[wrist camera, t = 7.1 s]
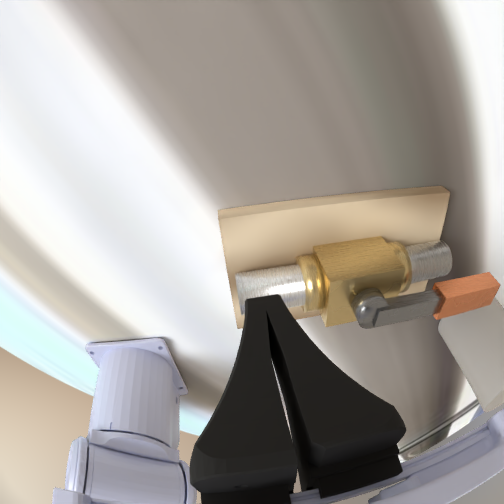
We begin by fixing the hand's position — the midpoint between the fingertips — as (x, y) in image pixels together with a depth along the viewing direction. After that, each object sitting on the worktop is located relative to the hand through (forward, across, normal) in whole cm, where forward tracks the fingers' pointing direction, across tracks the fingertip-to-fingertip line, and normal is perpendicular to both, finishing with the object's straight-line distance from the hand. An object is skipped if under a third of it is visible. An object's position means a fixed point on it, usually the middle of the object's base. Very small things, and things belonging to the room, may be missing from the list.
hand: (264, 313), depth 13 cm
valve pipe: (+9, -7, +5) cm, 13 cm away
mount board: (+9, -7, +5) cm, 13 cm away
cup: (+10, -25, +17) cm, 32 cm away
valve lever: (+4, -12, +5) cm, 14 cm away
